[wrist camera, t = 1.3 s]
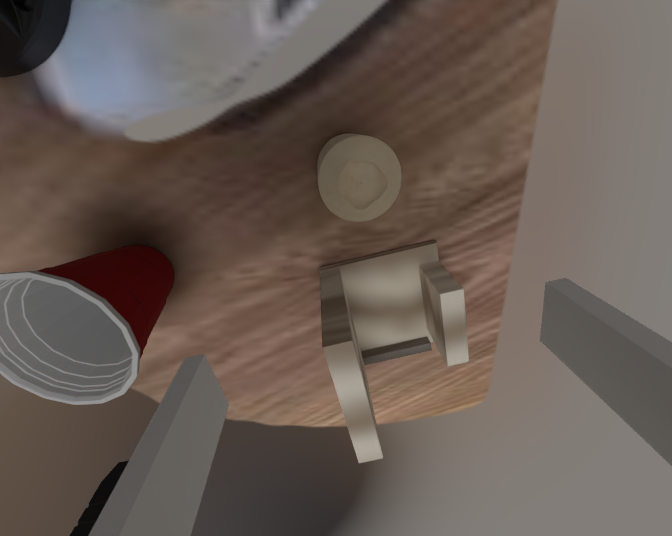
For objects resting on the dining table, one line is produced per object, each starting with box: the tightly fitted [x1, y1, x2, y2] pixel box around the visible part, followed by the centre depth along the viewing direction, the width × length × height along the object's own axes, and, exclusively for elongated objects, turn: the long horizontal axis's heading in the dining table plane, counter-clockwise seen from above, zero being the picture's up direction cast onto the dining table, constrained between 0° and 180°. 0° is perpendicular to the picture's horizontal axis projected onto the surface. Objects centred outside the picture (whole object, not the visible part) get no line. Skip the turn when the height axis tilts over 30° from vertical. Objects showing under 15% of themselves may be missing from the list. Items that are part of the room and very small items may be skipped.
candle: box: [317, 133, 402, 222], centre depth 24 cm, size 6×6×10 cm
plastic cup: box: [0, 245, 174, 405], centre depth 26 cm, size 11×11×12 cm
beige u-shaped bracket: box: [319, 240, 469, 463], centre depth 28 cm, size 12×12×13 cm
